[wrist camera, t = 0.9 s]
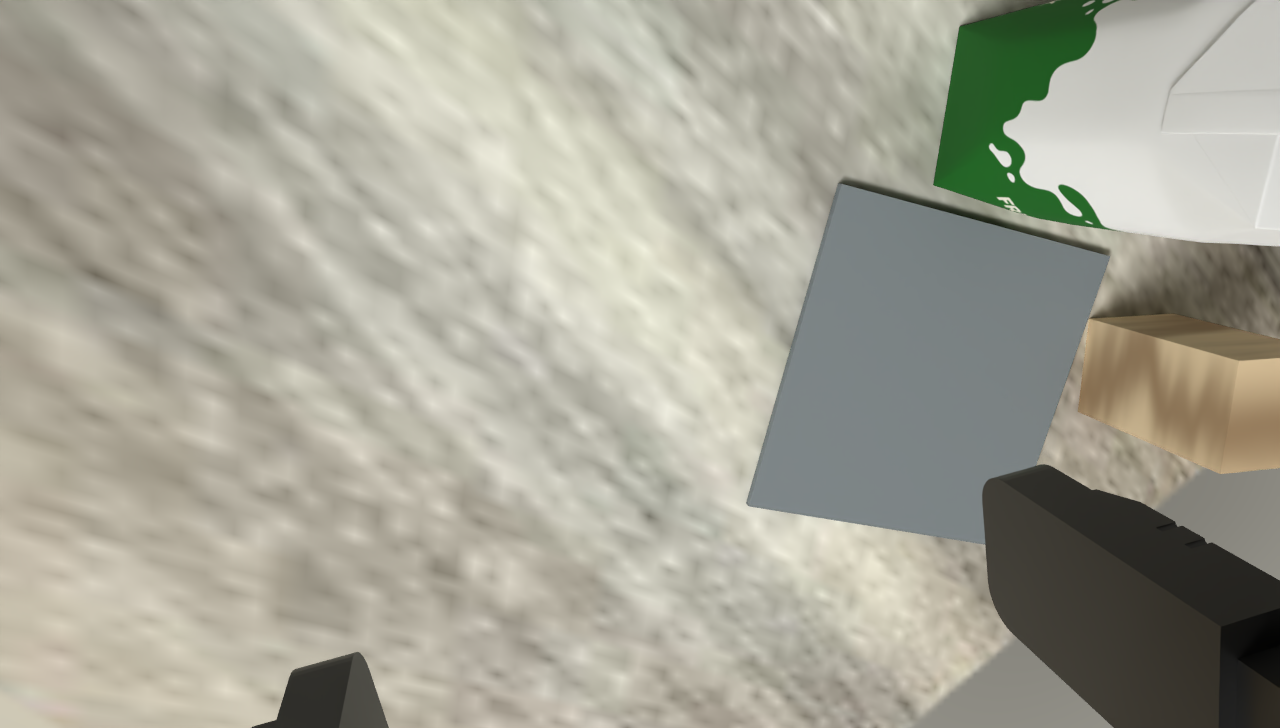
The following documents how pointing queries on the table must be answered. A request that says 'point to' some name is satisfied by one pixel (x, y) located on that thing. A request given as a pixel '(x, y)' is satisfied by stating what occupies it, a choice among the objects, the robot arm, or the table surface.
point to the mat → (921, 366)
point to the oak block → (1186, 388)
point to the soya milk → (1122, 117)
